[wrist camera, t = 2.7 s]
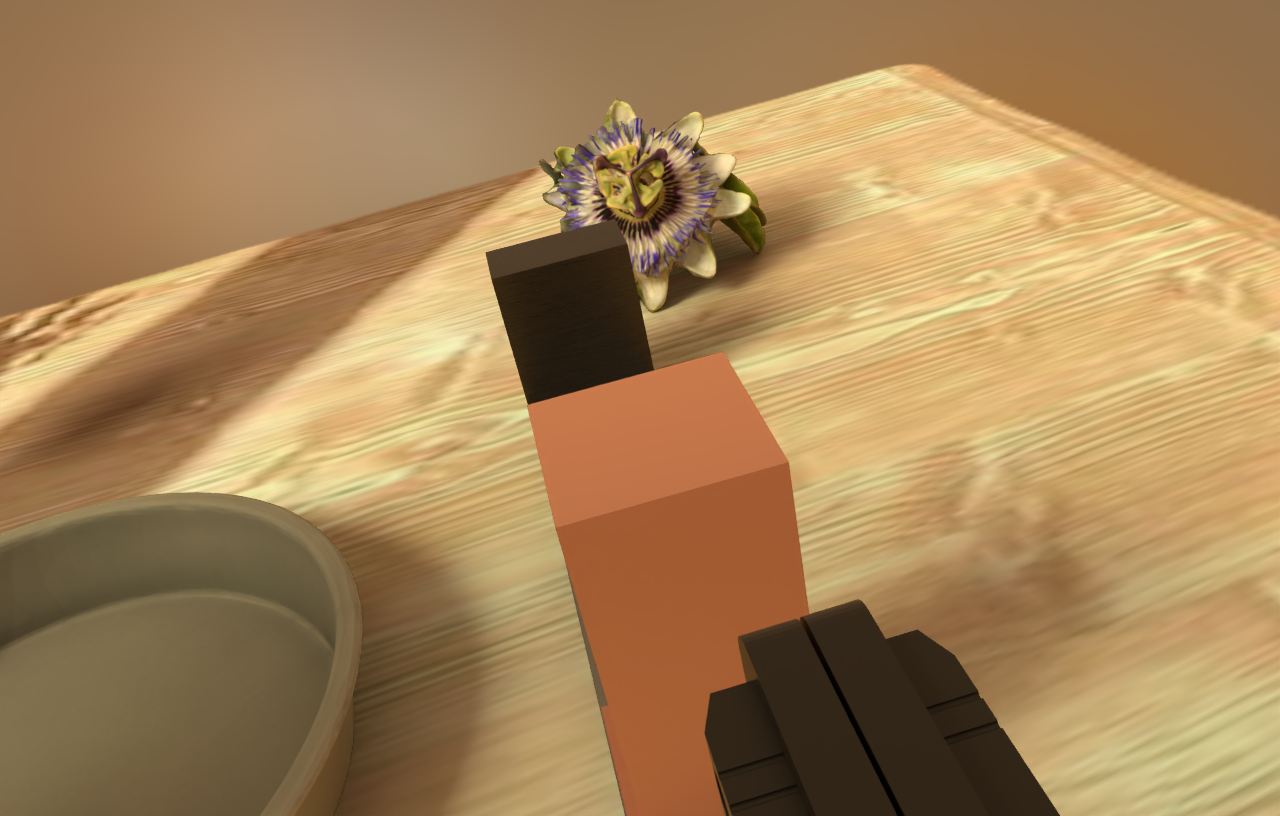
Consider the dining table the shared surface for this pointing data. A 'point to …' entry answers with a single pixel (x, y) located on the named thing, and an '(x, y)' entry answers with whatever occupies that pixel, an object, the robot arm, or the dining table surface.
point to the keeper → (670, 558)
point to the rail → (572, 324)
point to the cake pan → (175, 661)
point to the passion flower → (655, 196)
